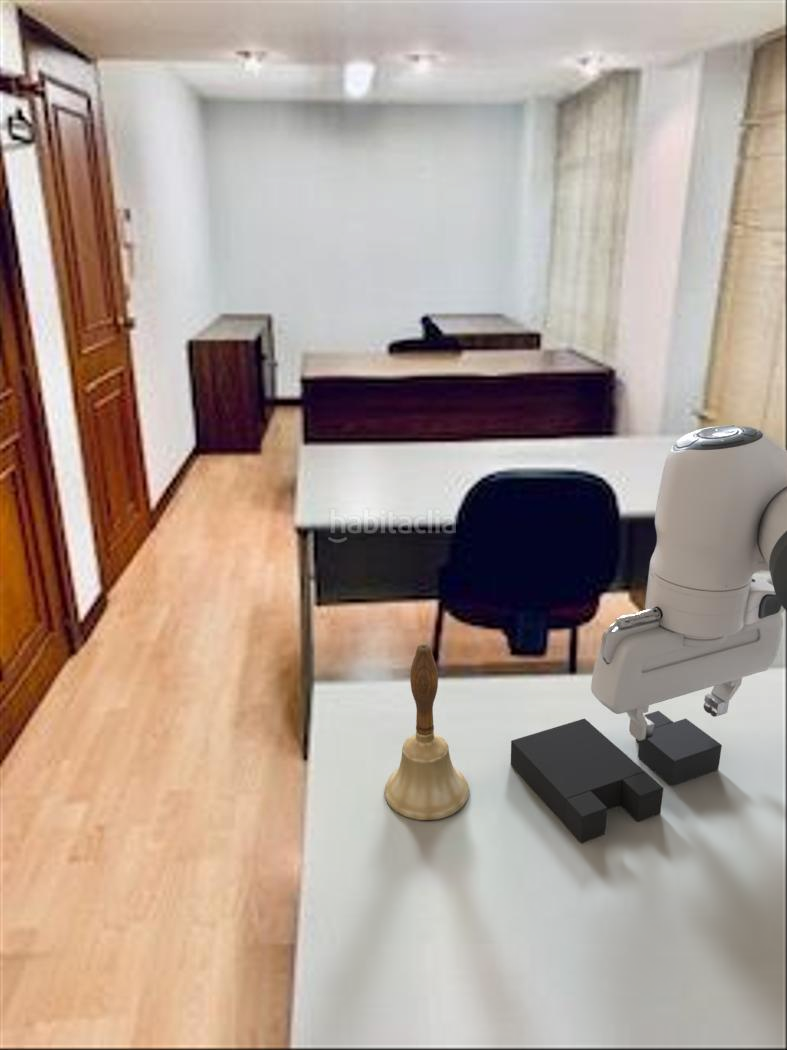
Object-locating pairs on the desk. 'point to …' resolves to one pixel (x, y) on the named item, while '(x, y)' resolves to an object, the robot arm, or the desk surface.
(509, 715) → the desk surface
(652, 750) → the graphite pad
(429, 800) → the hand bell
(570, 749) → the black pad
